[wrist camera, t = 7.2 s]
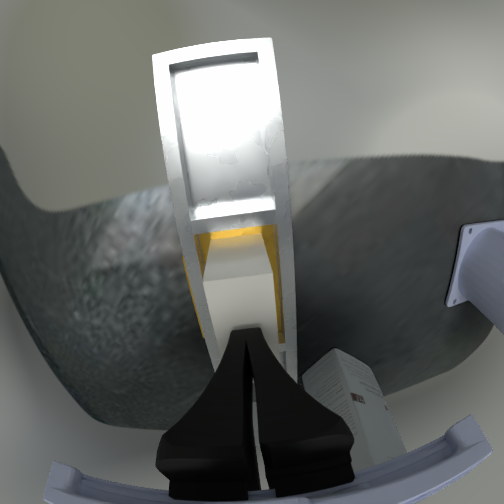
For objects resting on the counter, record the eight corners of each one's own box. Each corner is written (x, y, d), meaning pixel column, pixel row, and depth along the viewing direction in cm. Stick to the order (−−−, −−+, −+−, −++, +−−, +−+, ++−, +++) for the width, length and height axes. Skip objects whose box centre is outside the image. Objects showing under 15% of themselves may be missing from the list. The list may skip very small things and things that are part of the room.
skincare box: (371, 365, 23) (420, 468, 12) (338, 392, 24) (373, 494, 13) (331, 344, 21) (382, 472, 10) (295, 375, 23) (324, 499, 11)
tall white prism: (261, 233, 16) (272, 272, 12) (270, 326, 19) (281, 379, 14) (210, 239, 16) (202, 281, 12) (228, 331, 19) (229, 385, 14)
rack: (266, 48, 12) (283, 9, 7) (293, 399, 24) (303, 446, 19) (159, 64, 12) (125, 34, 7) (230, 407, 24) (231, 455, 19)
